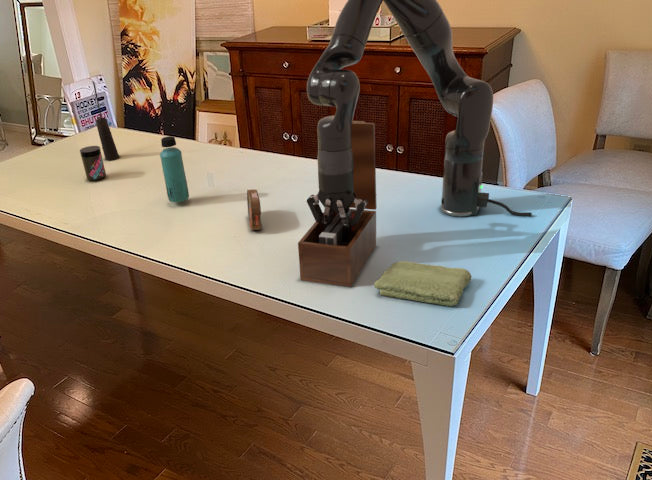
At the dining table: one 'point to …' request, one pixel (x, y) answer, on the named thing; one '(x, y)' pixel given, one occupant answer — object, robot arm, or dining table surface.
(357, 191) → the lid
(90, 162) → the supplement container
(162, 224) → the dining table surface
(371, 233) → the chest
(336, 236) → the dark grey long block
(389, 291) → the washcloth
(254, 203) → the tin
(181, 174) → the beverage bottle
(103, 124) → the butter churn
